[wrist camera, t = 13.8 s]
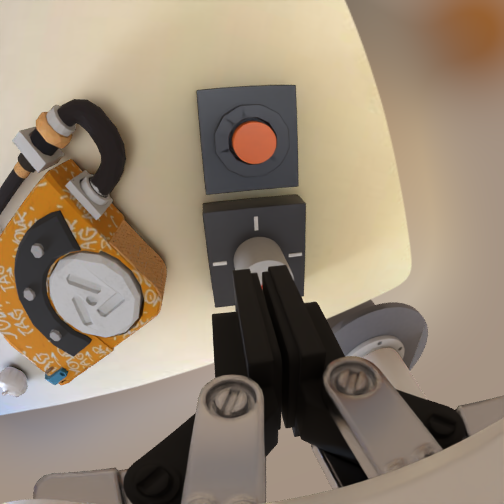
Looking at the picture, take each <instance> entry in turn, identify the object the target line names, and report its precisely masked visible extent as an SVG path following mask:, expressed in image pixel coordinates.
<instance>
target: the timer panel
mask: <svg viewBox="0 0 504 504" xmlns="http://www.w3.org/2000/svg"><path fill="white" fill-rule="evenodd" d="M203 221H204V229H205V237H206V245H207V252H208V260H209V267H210V275H211V282H212V289H213V296H214V302H215V307H225V306H233V305H235V297H234V286H233V275H232V270H235V267H234V255H235V252H236V250H237V248H238V247H239V246H240V245H241V244H242V243H243V242H244V241H246V240H248V239H250V238H254V237H266V238H269V239H271V240H273V241H274V242H276V243H277V244H278V246H279V247H280V249H281V251H282V253H283V255H284V257H285V259H286V261H287V263H288V265H289V267H290V269H291V271H292V274H293V277H294V282H295V284H296V287H297V289H298V291H299V293H300V295H301V296H304V271H305V222H306V203H305V202H304V201H303V200H302V199H301V198H300V197H299V196H298V195H286V196H274V197H263V198H252V199H242V200H232V201H222V202H213V203H204V204H203Z"/></svg>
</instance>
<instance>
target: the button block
mask: <svg viewBox="0 0 504 504" xmlns="http://www.w3.org/2000/svg"><path fill="white" fill-rule="evenodd" d="M197 103H198V115H199V127H200V138H201V149H202V160H203V170H204V180H205V189H206V195H210V194H219V193H229V192H239V191H249V190H260V189H272V188H284V187H298V138H297V107H296V86H295V85H265V86H242V87H227V88H215V89H204V90H197ZM247 121H258V122H261V123H264V124H266V125H267V126H269V127H270V128H271V129H272V130H273V132H274V134H275V136H276V149H275V151H274V153H273V155H272V156H271V157H270V158H269V159H268V160H266V161H265V162H262V163H259V164H250V163H247V162H245V161H243V160H241V159H240V158H239V157H238V156H237V154H236V153H235V151H234V149H233V146H232V136H233V133H234V131H235V129H236V128H237V127H238V126H239V125H241V124H242V123H244V122H247Z"/></svg>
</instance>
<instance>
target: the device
mask: <svg viewBox="0 0 504 504" xmlns="http://www.w3.org/2000/svg"><path fill="white" fill-rule="evenodd" d="M76 123H77V124H80V125H81V126H82V127H83V128H84V129H85V130H86V131H87V132H88V133H89V135H90V136H91V137H92V139H93V140H94V142H95V143H96V145H97V147H98V149H99V152H100V154H101V165H100V167H99V169H98V171H97V172H96V173H95V174H94V175H90V174H89V173H88V172H87V171H86V170H85V171H82V170H81V169H80V168H79V167H78V166H77V165H76V164H75V162H74V161H73V160H72V159H70V160H68V161H66V162H64V163H62V164H60V165H58V166H57V167H55V168H53V169H51V170H49V171H48V172H47V173H46V174H45V175H44V176H43V178H42V179H41V180H40V181H39V182H38V184H37V185H36V186H35V187H34V188H33V190H32V191H31V192H30V194H29V195H28V196H27V198H26V199H25V201H24V202H23V203H22V205H21V206H20V208H19V209H18V210H17V212H16V213H15V215H14V216H13V218H12V219H11V220H10V222H9V223H8V225H7V226H6V228H5V229H4V231H3V232H2V234H1V235H0V332H1V334H2V335H3V336H4V337H5V339H6V340H7V341H8V342H9V344H10V345H11V346H13V347H14V348H15V349H16V350H17V351H19V352H20V353H21V354H22V355H23V356H25V357H26V358H27V359H28V360H30V361H31V362H32V363H33V364H35V365H36V366H37V367H38V368H40V369H41V370H42V371H44V372H45V379H46V380H47V381H49V382H50V383H52V384H54V385H56V384H58V383H59V384H60V385H64V384H67V383H69V382H70V381H72V380H73V379H74V378H75V377H77V376H78V375H80V374H81V373H82V372H84V371H85V370H87V369H88V367H91V366H93V365H94V364H95V363H97V362H98V361H100V360H101V359H102V358H104V357H105V356H106V355H108V354H109V353H111V352H112V351H113V350H114V347H115V346H117V345H118V344H119V343H121V342H122V341H123V340H125V339H126V338H128V337H129V336H130V335H132V334H133V333H134V332H136V331H137V330H138V329H140V328H141V327H143V326H144V325H145V324H147V323H148V322H149V321H150V320H152V319H153V318H154V317H156V316H157V315H158V313H159V312H160V310H161V305H162V300H163V294H164V288H165V282H166V277H167V270H166V265H165V263H164V261H163V260H162V259H161V257H160V256H159V255H158V254H157V253H156V252H155V251H154V250H153V249H152V248H151V247H150V246H149V245H148V244H147V243H146V242H145V241H144V240H143V239H142V238H141V237H140V236H139V235H138V234H137V233H136V232H135V231H134V230H133V229H132V228H131V227H130V226H129V224H128V223H127V222H126V221H125V220H124V218H125V217H124V216H123V215H122V213H121V212H120V211H119V210H118V209H117V208H116V207H115V206H114V205H113V204H112V202H113V199H112V198H111V197H110V192H111V191H112V190H113V188H114V187H115V186H116V184H117V183H118V181H119V180H120V177H121V175H122V173H123V171H124V165H125V160H126V156H125V148H124V143H123V141H122V139H121V137H120V134H119V132H118V130H117V128H116V127H115V125H114V124H113V123H112V122H111V120H110V119H109V118H108V117H107V115H106V114H105V113H104V112H103V111H102V109H101V108H100V107H98V106H96V105H95V104H93V103H92V102H90V101H88V100H80V99H74V100H72V101H70V102H68V103H66V104H64V105H62V106H59V105H55V106H54V107H53V108H52V109H51V110H50V111H49V112H42V113H41V114H40V116H39V117H38V119H37V120H36V127H33V128H29V129H25V130H21V131H19V132H18V134H17V135H16V136H15V138H14V139H13V140H12V141H13V142H14V144H15V145H16V146H17V147H18V149H19V150H20V151H21V153H20V155H19V156H18V162H17V164H16V165H15V166H14V169H13V170H12V172H11V173H10V174H9V176H8V177H7V179H6V180H5V182H4V183H3V185H2V186H1V188H0V214H1V213H2V211H3V210H4V208H5V207H6V205H7V204H8V202H9V201H10V199H11V198H12V196H13V195H14V193H15V192H16V191H17V189H18V188H19V186H20V185H21V184H22V182H23V181H24V180H25V178H27V177H28V175H29V174H30V173H31V172H34V171H35V170H36V171H37V172H38V173H39V172H41V171H43V170H45V169H47V168H49V167H51V166H53V165H55V164H57V163H58V162H59V160H60V159H61V158H62V157H63V156H64V153H63V152H62V151H61V150H60V149H61V148H64V147H65V146H67V145H68V144H69V143H70V141H71V139H72V133H73V132H74V131H75V130H76V127H75V124H76ZM59 148H60V149H59Z"/></svg>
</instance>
